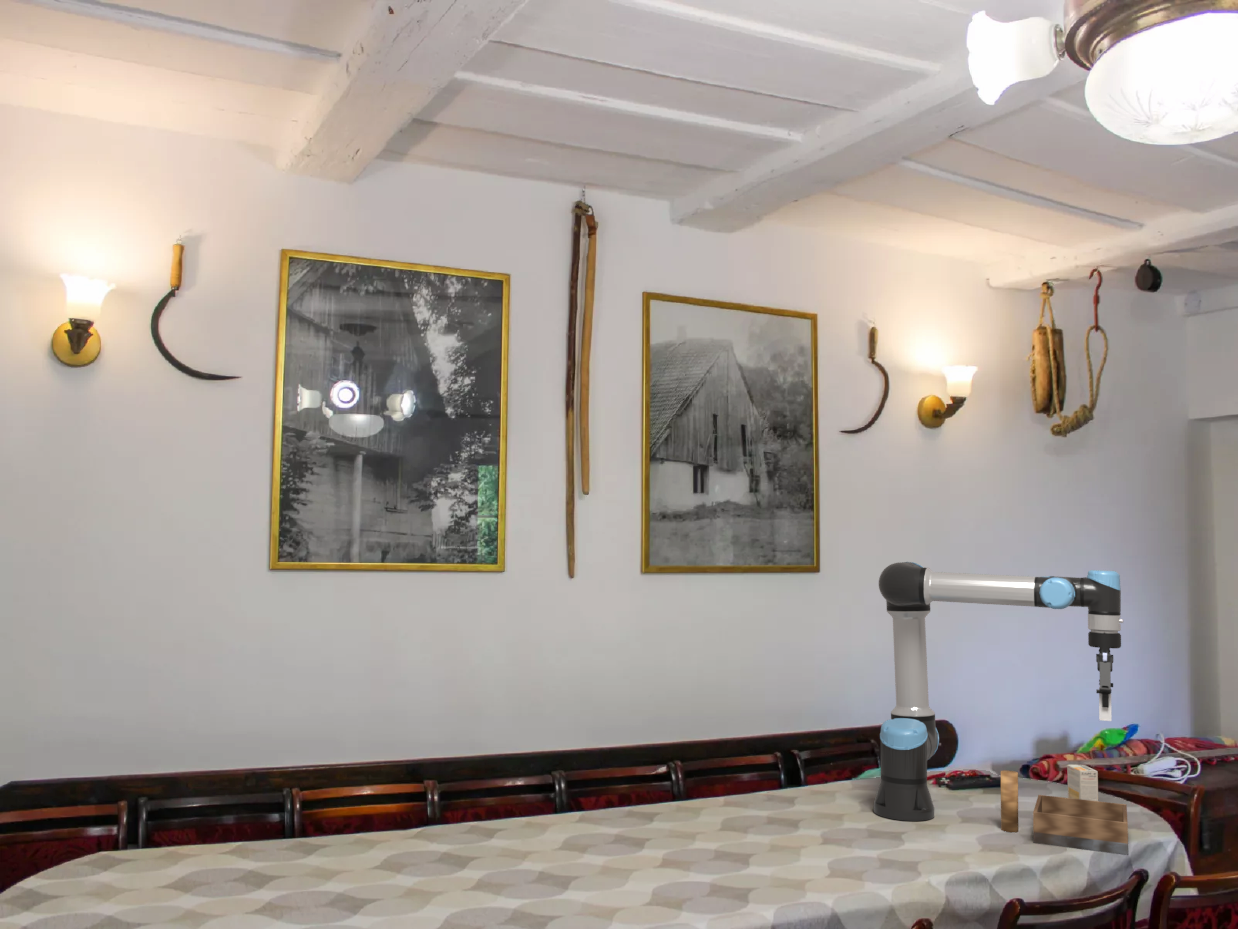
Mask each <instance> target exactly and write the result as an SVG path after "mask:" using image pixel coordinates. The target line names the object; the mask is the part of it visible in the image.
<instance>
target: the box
mask: <svg viewBox="0 0 1238 929" xmlns="http://www.w3.org/2000/svg"><path fill="white" fill-rule="evenodd" d="M1032 814H1033V815H1032V820H1033V825H1032V826H1033V827H1032V830H1033V831H1032V834H1033V837H1032V838H1033V839H1032V841H1033V843H1034V844H1040V845H1041V844H1043V845H1047V846H1048V845H1049V846H1056V847H1057V846H1058V847H1062V848H1071V849H1079V850H1087V851H1094V852H1102V853H1111V854H1117V855H1125V856H1128V855H1129V827H1128V826H1129V825H1128V823H1129V822H1128V806H1127V804H1125V803H1117V802H1107V801H1099V800H1098V801H1091V800H1082V799H1073V798H1068V797H1062V796H1054V795H1046V794H1038V796H1037V800H1036V803H1035V804H1034V809H1033V811H1032Z"/></svg>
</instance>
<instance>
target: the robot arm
mask: <svg viewBox="0 0 1238 929" xmlns="http://www.w3.org/2000/svg"><path fill="white" fill-rule="evenodd" d="M878 578H879V579H878V589H879V592H880V594H881V596H882V597H883V598H884V599H885V602H886V612H887V614H889V615H890V617H892V632H893V637H892V638H893V656H894V658H893V661H894V682H895V683H894V684H895V707H894V708H893V709H892V710H891V711H890V719H887V720H885V721H883V723H882V724H881V725H880V726H881V727H880V731H879V732H880V733H879V739H880V781H879V786H878V789H877V791H876V794H875V798H874V801H873V812H874V814H875V815H878V816H880V817H882V818H887V819H891V820H897V821H907V822H918V821H919V822H921V821H927V820H932V819H933V818H935V807H934V806H935V805H934V803H933V800H932V797H931V793H930V790H929V787H928V760H931V759H932V757H934V755H935V754H936V752H937V750H938V747H939V745H940V734H939V732H938V729H937V727H936V712H935V711H934V710H933V709H932V708H930V705H929V704H930V702H929V701H930V700H929V682H928V681H929V680H928V678H929V677H928V660H927V659H928V656H927V638H926V637H927V636H926V635H927V634H926V631H927V630H926V617H927V616H928V615H930V614H929V613H931V603H932V602H943V603H960V604H962V603H964V604H977V605H978V604H979V605H980V604H981V605H982V604H983V605H999V606H1001V605H1002V606H1013V607H1014V606H1017V607H1019V606H1020V607H1031V608H1032V607H1033V608H1048V609H1051V610H1052V609H1054V610H1063V609H1064V610H1065V609H1066V608H1068V607H1077V608H1079V607H1081V608H1087V609H1088V610H1087V630H1090V631H1089V632H1088V634H1087V635H1088V636H1087V638H1088V639H1087V640H1088V642H1087V643H1088V644H1087V645H1088V646H1089V647H1091V648H1099V649H1098V653H1096V654H1095V655H1096V656H1095V658H1096V659H1095V661H1096V663H1097V671H1098V672H1099V679H1098V682H1099V683H1098V685H1099V686H1098V687H1099V688H1097V689H1096V691H1095V692H1096V694H1098V700H1099V701H1098V706H1099V709H1098V710H1099V711H1098V712H1099V713H1098V716H1099V717H1098V718H1099V720H1098V721H1105V722H1112V718H1113V716H1112V688H1114V682H1112V681H1111V672H1113V663H1114V654H1111V649H1120V648H1121V647H1122V635H1121V633H1120V631H1122V630H1121V628H1122V627H1121V624H1124V619H1123V618H1121V615H1122V614H1121V604H1122V602H1121V600H1122V599H1121V598H1122V597H1121V593H1122V591H1121V575H1120V573H1118V572H1117V571H1116V570H1115V571H1114V570H1095V569H1091V570H1088V572H1087V576H1086V577H1072V576H1070V577H1069V576H1054V575H1048V576H1046V575H1045V576H1029V575H1028V576H1026V575H1025V576H1024V575H1010V574H1009V575H1008V574H1006V575H1005V574H989V573H988V574H987V573H986V574H985V573H984V574H983V573H966V572H965V573H964V572H963V573H961V572H943V571H941V572H940V571H933V570H932V569H930V567H924V566H922V565H921V564H918V563H916V562H912V561H904V562H900V561H899V562H894V563H891V564H889V565H888V566H886V567H885V568H884V569H883V570H882V572H881V573H880V575H879V577H878Z"/></svg>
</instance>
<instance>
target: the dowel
mask: <svg viewBox="0 0 1238 929" xmlns="http://www.w3.org/2000/svg"><path fill="white" fill-rule="evenodd" d="M1000 821H1001V822H1000V830H1001V831H1002V832H1005V831H1006V832H1005V833H1012V832H1015V833H1018V832H1019V772H1017V771H1015V770H1007V769H1006V770H1005V769H1004V770H1000Z"/></svg>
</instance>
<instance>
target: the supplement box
mask: <svg viewBox="0 0 1238 929" xmlns="http://www.w3.org/2000/svg"><path fill="white" fill-rule="evenodd" d="M1066 766H1067V767H1066V768H1067V769H1066V770H1067V772H1066V773H1067V774H1066V775H1067V798H1073V799H1082V800H1091V801H1099V777H1098V776H1099V773H1098V770H1096V769H1094V768H1091V767H1089V766H1087V765H1085V764H1067V765H1066Z"/></svg>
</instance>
